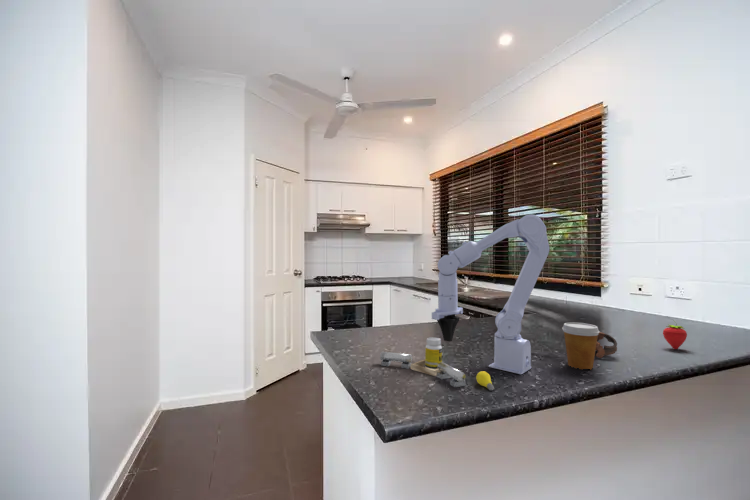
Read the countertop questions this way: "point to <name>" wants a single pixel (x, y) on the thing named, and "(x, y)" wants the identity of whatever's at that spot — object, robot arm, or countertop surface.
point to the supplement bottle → (433, 352)
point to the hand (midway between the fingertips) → (447, 340)
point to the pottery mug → (607, 349)
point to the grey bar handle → (396, 359)
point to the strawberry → (675, 335)
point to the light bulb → (484, 380)
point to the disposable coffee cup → (580, 344)
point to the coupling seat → (423, 368)
